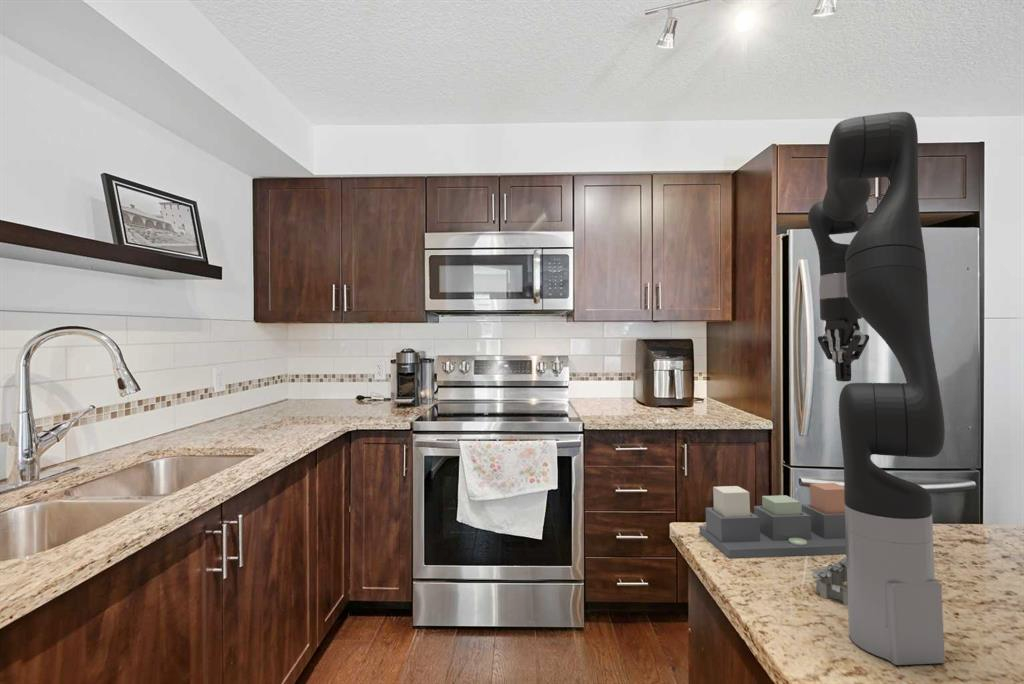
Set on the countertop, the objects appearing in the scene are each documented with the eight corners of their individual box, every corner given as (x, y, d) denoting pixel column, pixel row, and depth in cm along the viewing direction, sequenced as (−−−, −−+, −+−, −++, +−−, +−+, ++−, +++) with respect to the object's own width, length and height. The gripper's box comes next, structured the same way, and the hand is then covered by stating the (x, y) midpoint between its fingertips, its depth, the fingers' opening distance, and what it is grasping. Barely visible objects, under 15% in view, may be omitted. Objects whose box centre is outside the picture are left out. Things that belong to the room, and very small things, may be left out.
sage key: (801, 533, 104) (800, 501, 104) (776, 534, 104) (775, 502, 104) (787, 525, 109) (786, 495, 109) (763, 525, 109) (762, 496, 109)
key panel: (878, 552, 99) (877, 520, 99) (729, 558, 98) (728, 525, 98) (830, 528, 113) (829, 499, 113) (699, 532, 112) (698, 503, 112)
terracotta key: (851, 520, 104) (850, 489, 104) (826, 521, 104) (825, 489, 104) (835, 512, 109) (834, 483, 109) (811, 513, 109) (809, 483, 109)
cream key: (750, 523, 103) (749, 492, 104) (724, 524, 103) (723, 493, 103) (738, 515, 108) (737, 485, 109) (714, 516, 108) (713, 486, 108)
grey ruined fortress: (857, 613, 77) (856, 584, 78) (807, 593, 84) (806, 566, 84) (896, 595, 83) (895, 568, 83) (845, 578, 89) (844, 553, 89)
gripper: (882, 293, 104) (885, 382, 104) (836, 299, 117) (839, 378, 117) (844, 293, 103) (847, 384, 103) (803, 300, 117) (806, 379, 116)
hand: (843, 381), depth 110 cm, fingers closed
